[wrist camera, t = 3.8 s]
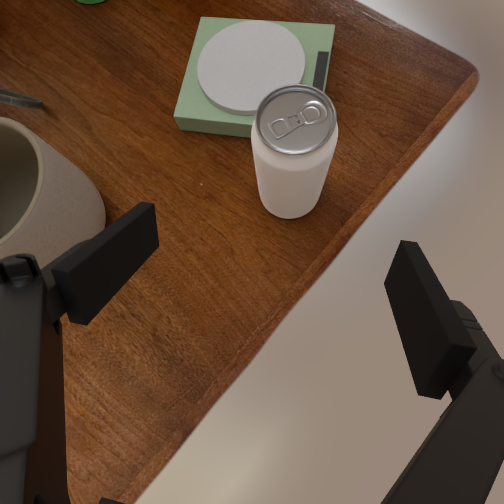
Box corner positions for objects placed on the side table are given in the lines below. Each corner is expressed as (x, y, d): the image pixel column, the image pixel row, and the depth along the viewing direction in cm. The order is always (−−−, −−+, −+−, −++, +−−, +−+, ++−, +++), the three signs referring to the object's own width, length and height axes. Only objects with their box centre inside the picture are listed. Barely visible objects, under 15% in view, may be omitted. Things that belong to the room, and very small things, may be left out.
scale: (331, 43, 36) (336, 17, 33) (315, 145, 33) (319, 127, 30) (205, 35, 38) (199, 9, 35) (180, 130, 35) (170, 111, 32)
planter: (56, 162, 35) (-40, 94, 25) (140, 203, 33) (75, 147, 22) (-6, 253, 33) (-139, 221, 23) (79, 303, 31) (-24, 293, 20)
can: (330, 204, 31) (360, 135, 19) (274, 230, 31) (272, 175, 19) (302, 156, 33) (316, 64, 21) (250, 180, 33) (233, 101, 21)
